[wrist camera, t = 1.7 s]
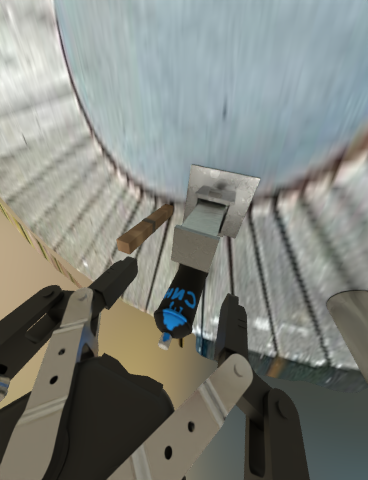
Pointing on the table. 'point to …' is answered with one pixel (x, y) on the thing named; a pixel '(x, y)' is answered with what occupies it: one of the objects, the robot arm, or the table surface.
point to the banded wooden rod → (144, 229)
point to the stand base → (221, 195)
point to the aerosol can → (179, 305)
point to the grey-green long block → (198, 236)
